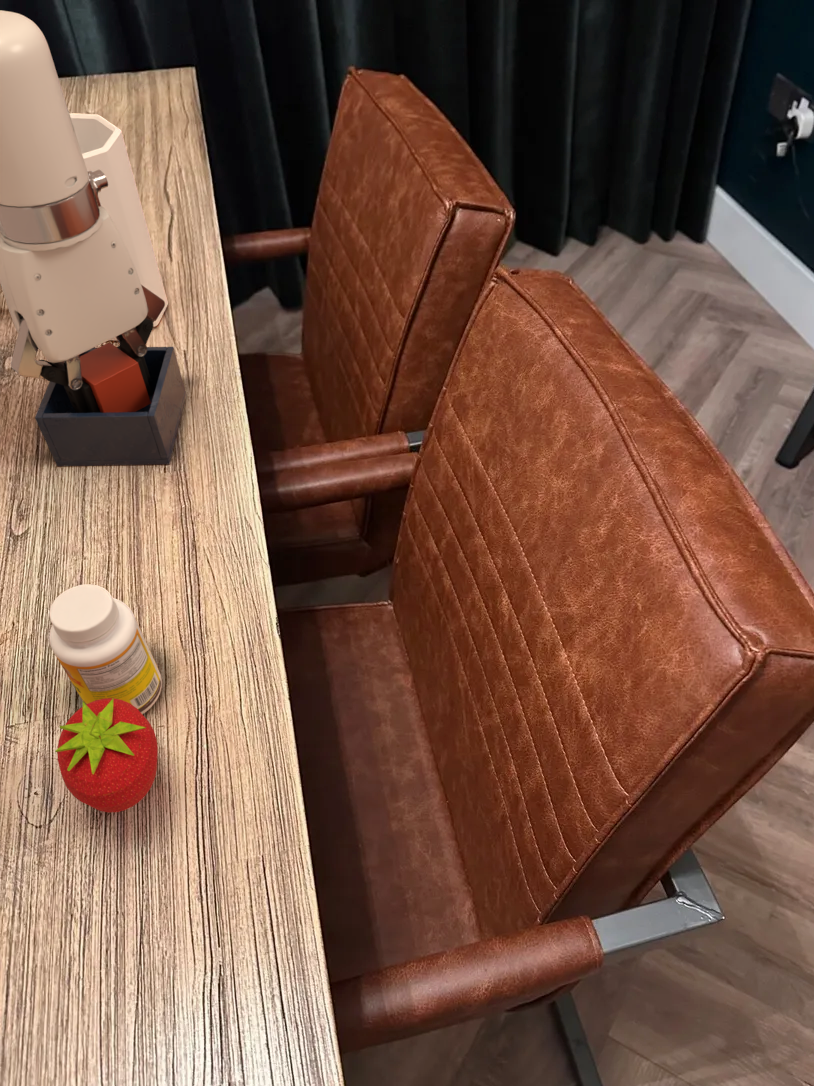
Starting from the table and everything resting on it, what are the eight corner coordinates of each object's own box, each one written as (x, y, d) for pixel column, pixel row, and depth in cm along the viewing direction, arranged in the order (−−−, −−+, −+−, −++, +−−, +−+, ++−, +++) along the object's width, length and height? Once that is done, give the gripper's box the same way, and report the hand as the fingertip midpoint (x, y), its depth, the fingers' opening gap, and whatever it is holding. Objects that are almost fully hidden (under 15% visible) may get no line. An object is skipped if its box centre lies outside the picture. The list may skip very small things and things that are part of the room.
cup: (162, 278, 99) (115, 104, 85) (175, 332, 93) (126, 153, 78) (60, 295, 97) (-6, 119, 83) (66, 351, 90) (-5, 170, 76)
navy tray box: (56, 466, 79) (34, 417, 75) (82, 396, 86) (63, 347, 81) (169, 464, 79) (154, 415, 75) (186, 394, 86) (173, 346, 82)
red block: (109, 426, 78) (93, 385, 75) (81, 404, 80) (65, 363, 77) (151, 403, 80) (138, 362, 77) (123, 383, 82) (109, 341, 79)
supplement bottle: (88, 668, 65) (39, 579, 57) (164, 657, 66) (126, 568, 58) (83, 732, 62) (31, 647, 54) (163, 719, 62) (123, 633, 54)
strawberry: (165, 733, 62) (126, 650, 54) (186, 825, 57) (147, 749, 50) (79, 761, 60) (26, 679, 52) (95, 858, 56) (40, 785, 48)
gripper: (113, 156, 71) (168, 347, 86) (-86, 231, 64) (10, 428, 78) (167, 186, 68) (215, 379, 82) (-35, 269, 60) (56, 466, 74)
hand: (115, 401), depth 80 cm, fingers closed on red block, 4 cm apart
